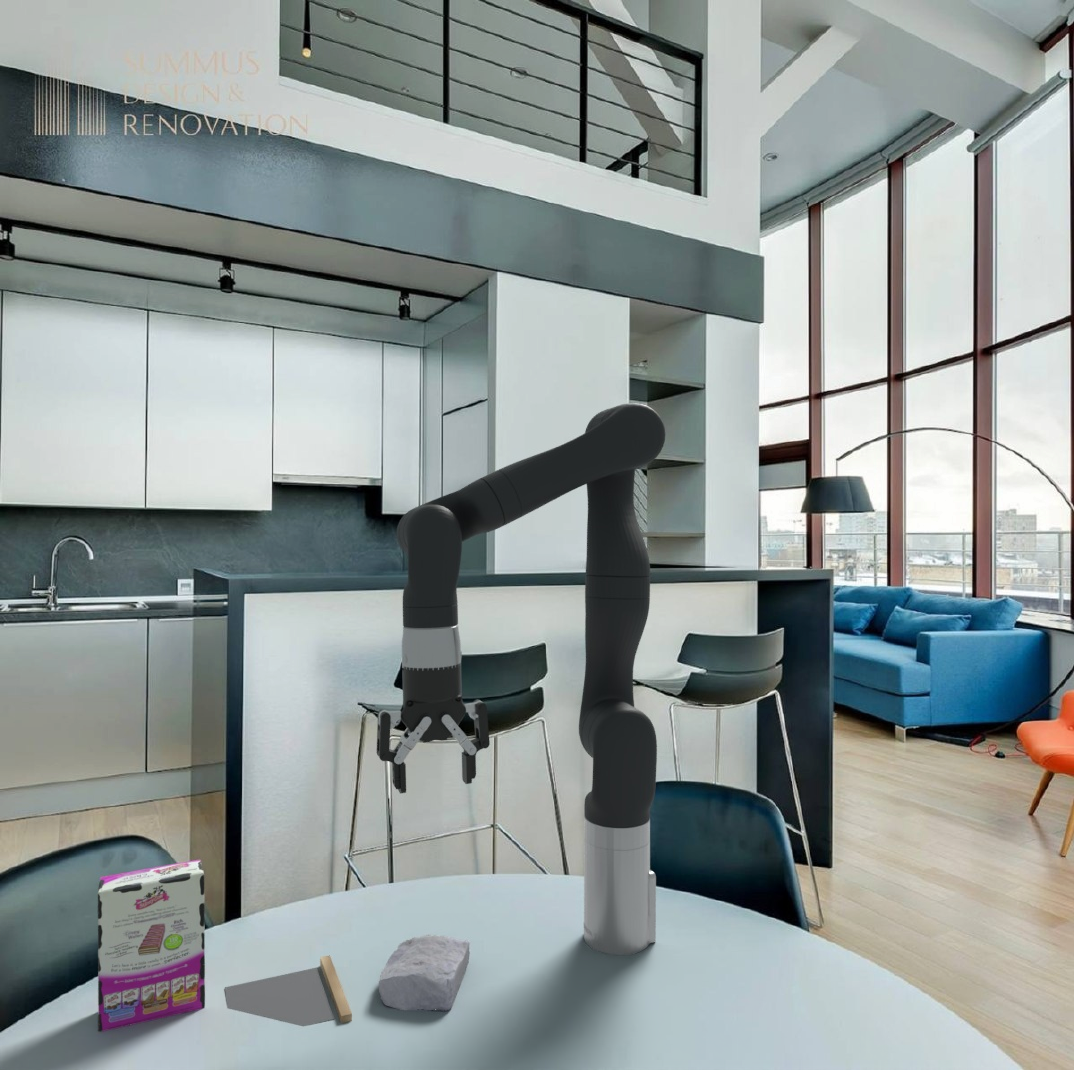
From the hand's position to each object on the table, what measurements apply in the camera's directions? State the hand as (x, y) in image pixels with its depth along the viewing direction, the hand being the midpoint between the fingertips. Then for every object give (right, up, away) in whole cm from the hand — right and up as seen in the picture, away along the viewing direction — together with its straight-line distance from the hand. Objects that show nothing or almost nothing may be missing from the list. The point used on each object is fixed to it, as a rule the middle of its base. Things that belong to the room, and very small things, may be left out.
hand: (434, 786), depth 102 cm
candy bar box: (-32, -24, -9) cm, 41 cm away
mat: (-18, -24, -8) cm, 30 cm away
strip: (-12, -24, -5) cm, 27 cm away
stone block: (-6, -23, -3) cm, 24 cm away
